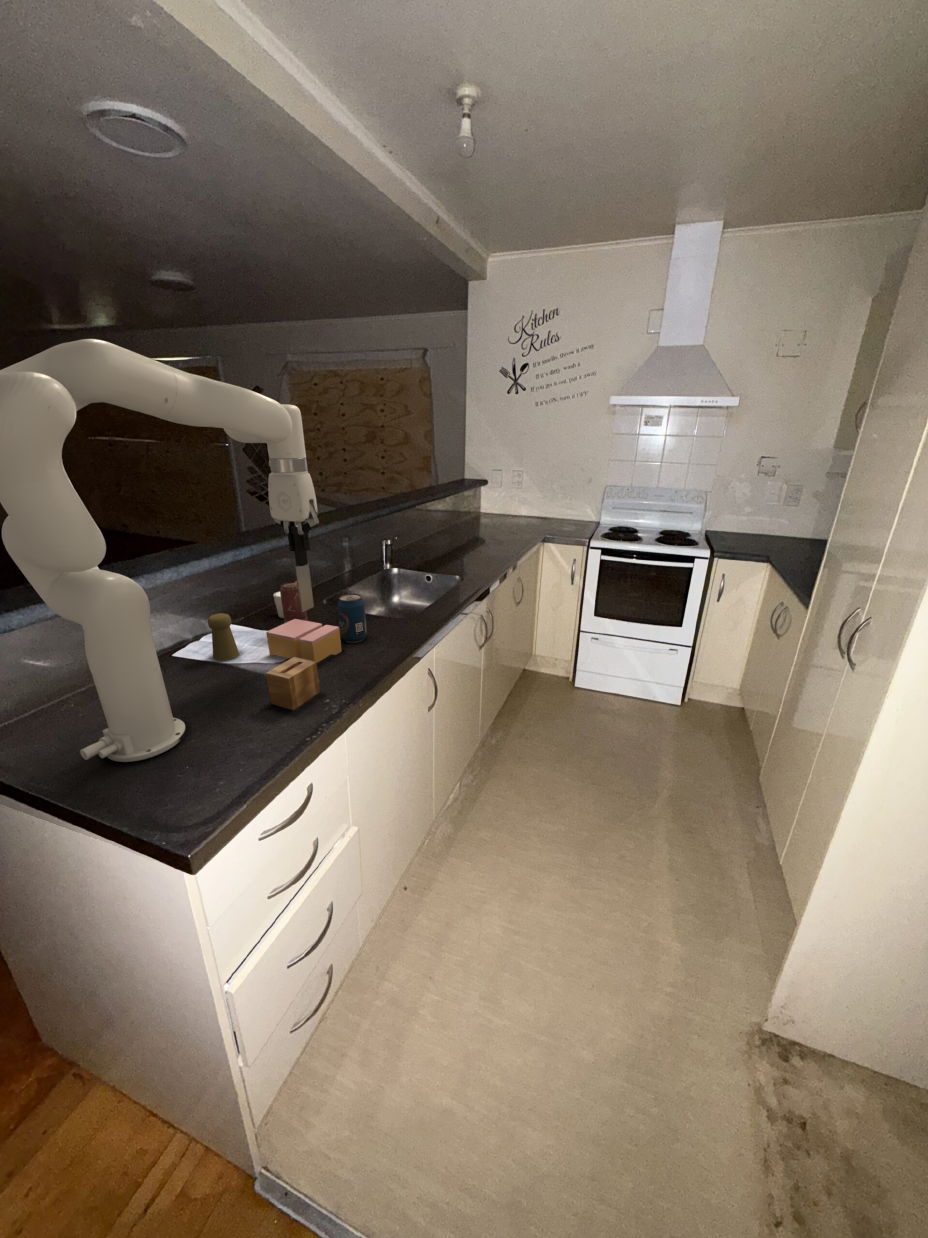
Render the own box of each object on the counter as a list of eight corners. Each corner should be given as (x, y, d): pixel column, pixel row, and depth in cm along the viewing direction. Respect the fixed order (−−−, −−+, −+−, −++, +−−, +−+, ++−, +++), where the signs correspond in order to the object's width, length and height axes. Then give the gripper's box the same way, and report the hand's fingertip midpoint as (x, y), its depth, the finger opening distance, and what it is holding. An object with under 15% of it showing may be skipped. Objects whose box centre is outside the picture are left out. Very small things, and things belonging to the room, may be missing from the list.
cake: (297, 663, 118) (294, 637, 115) (270, 657, 121) (265, 631, 119) (324, 647, 126) (322, 623, 124) (298, 642, 130) (294, 618, 127)
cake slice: (315, 667, 116) (312, 641, 113) (302, 664, 117) (298, 638, 115) (341, 651, 124) (339, 626, 122) (329, 648, 126) (326, 624, 123)
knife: (305, 612, 114) (293, 527, 107) (299, 611, 115) (287, 527, 108) (316, 607, 118) (306, 525, 110) (310, 606, 118) (300, 524, 111)
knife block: (294, 714, 96) (288, 678, 94) (271, 707, 99) (265, 672, 96) (320, 695, 103) (316, 661, 100) (298, 689, 106) (294, 656, 103)
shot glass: (294, 609, 154) (291, 588, 151) (303, 615, 149) (300, 593, 146) (273, 614, 150) (269, 592, 147) (281, 620, 145) (277, 598, 142)
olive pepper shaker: (207, 659, 120) (198, 618, 116) (224, 649, 125) (216, 609, 121) (228, 662, 118) (220, 620, 114) (244, 652, 124) (237, 611, 120)
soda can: (336, 638, 132) (332, 596, 128) (359, 631, 136) (355, 591, 132) (349, 646, 127) (344, 603, 123) (372, 639, 131) (368, 597, 127)
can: (312, 627, 140) (306, 580, 134) (303, 635, 134) (297, 587, 129) (292, 626, 140) (285, 580, 135) (282, 635, 134) (275, 586, 129)
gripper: (248, 467, 104) (261, 551, 111) (305, 469, 98) (316, 557, 105) (274, 465, 111) (285, 544, 117) (329, 466, 105) (338, 550, 111)
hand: (300, 550), depth 111 cm, fingers closed on knife, 1 cm apart
